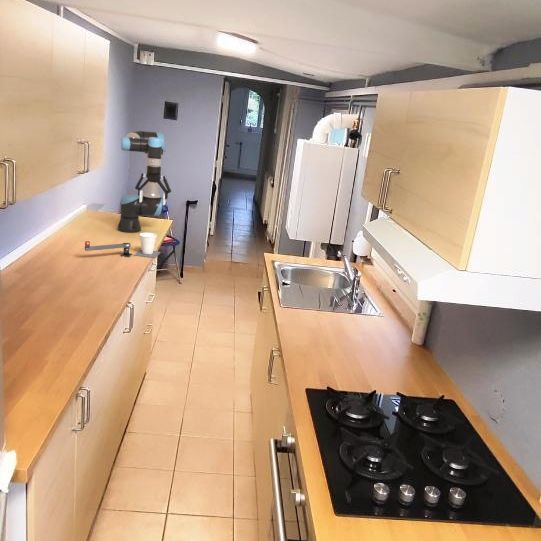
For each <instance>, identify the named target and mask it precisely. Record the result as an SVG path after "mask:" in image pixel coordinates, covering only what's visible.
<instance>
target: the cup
mask: <svg viewBox="0 0 541 541" xmlns="http://www.w3.org/2000/svg"><path fill="white" fill-rule="evenodd" d="M157 238H158V234H156V233H155V232H154V233H153V232H141V233H139V239H140V246H141V250H142V253H143V254H147V255H150V254H153V251H155V245H156V240H157Z"/></svg>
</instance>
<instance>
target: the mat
mask: <svg viewBox="0 0 541 541" xmlns="http://www.w3.org/2000/svg"><path fill="white" fill-rule="evenodd" d="M160 254H161V251H155V250H154V251H153V254H150V255H147V254H143V253H142V248H141V249H139V250H138V251H137V252H136V253H135V254H134V255H133V256H134V257H140V258H141V257H143V258H149V259H156V258H157V257H158V256H159V255H160Z"/></svg>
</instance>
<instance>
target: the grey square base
mask: <svg viewBox="0 0 541 541" xmlns="http://www.w3.org/2000/svg"><path fill="white" fill-rule="evenodd" d="M119 256H120V257H123V256H124V257H125V258H131V257H132V256H133V253H130V248H123V252H122V253H121V254H120V255H119Z"/></svg>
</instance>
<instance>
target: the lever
mask: <svg viewBox="0 0 541 541" xmlns="http://www.w3.org/2000/svg"><path fill="white" fill-rule="evenodd" d="M90 242H91V241H89V240H86V241H84V251H86V252H90V251H91V252H92V251H102V250H114V249H124V248H129V249H130V248H131V246H132V245H131V243H130V242H123V243H116V244H115V243H114V244H113V243H112V244H103V245H92V246H91V243H90Z"/></svg>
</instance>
